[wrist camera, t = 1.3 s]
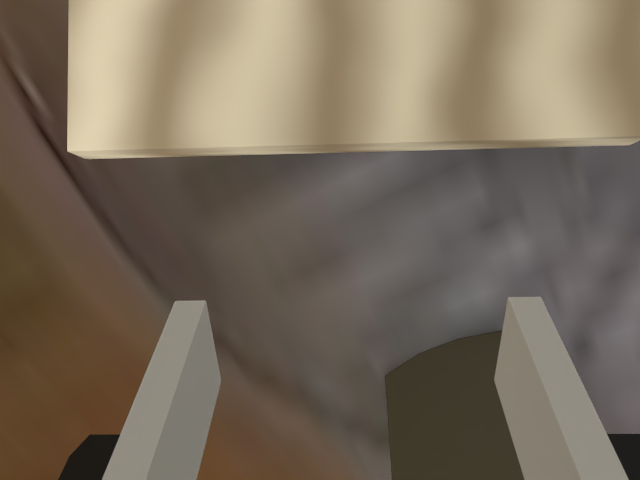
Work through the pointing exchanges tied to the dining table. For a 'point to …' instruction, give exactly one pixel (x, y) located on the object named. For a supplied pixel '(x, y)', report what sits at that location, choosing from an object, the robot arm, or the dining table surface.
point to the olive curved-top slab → (450, 415)
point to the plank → (349, 76)
